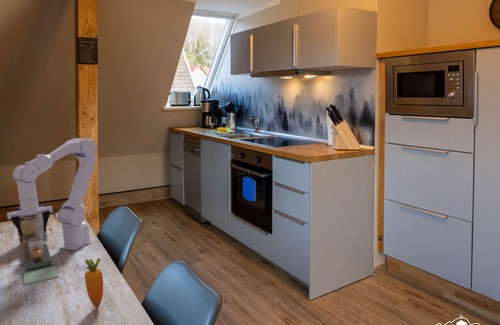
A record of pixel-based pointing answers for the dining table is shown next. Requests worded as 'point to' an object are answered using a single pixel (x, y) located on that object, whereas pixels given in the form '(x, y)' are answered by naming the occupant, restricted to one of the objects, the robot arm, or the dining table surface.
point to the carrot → (94, 282)
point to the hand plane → (37, 259)
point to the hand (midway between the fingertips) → (33, 233)
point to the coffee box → (31, 227)
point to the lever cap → (35, 244)
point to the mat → (40, 275)
